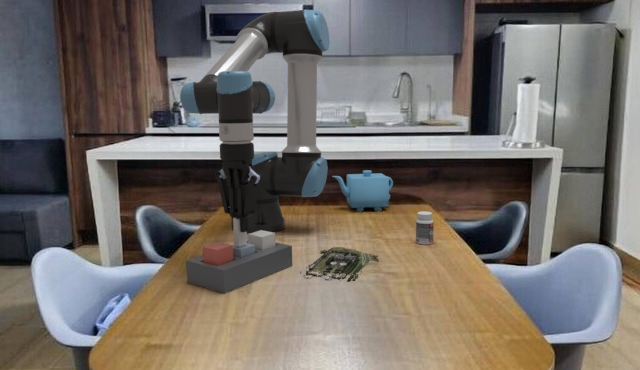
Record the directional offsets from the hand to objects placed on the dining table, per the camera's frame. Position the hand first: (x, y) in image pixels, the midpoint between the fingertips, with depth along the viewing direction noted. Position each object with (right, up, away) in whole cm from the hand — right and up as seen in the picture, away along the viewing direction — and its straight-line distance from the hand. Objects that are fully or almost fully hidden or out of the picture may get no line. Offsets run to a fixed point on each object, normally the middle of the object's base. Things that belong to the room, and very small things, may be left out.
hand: (240, 244), depth 122 cm
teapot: (+33, +5, +69) cm, 77 cm away
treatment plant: (+23, -6, +7) cm, 25 cm away
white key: (+4, -2, +6) cm, 8 cm away
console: (0, -7, +1) cm, 7 cm away
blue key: (0, -4, +1) cm, 4 cm away
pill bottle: (+47, -2, +25) cm, 53 cm away
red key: (-4, -4, -5) cm, 7 cm away
